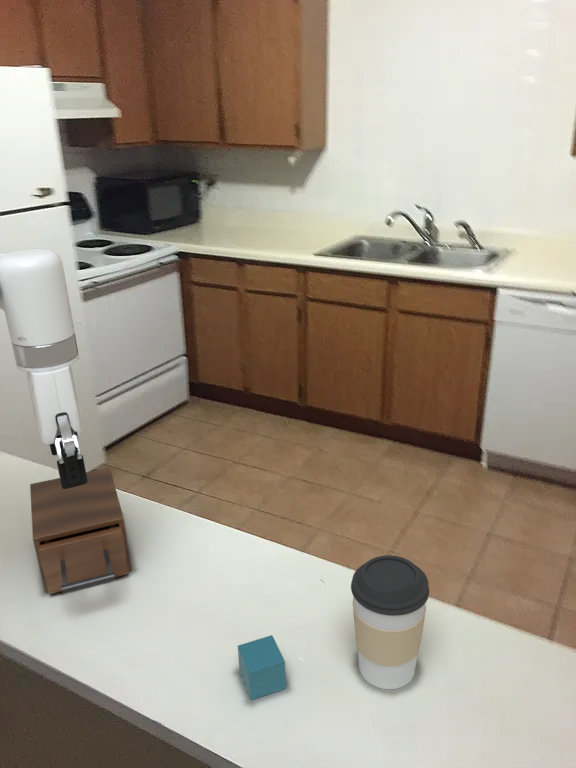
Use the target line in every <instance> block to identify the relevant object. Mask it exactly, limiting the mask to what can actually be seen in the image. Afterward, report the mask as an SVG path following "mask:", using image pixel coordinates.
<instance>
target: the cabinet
mask: <svg viewBox="0 0 576 768" xmlns="http://www.w3.org/2000/svg"><path fill="white" fill-rule="evenodd" d="M86 475H87V483H86V484H84V485H80V486H76V487H72V488H68V489H63V488H62V485H61V481H60V477H58V478H52V479H48V480H43V481H38V482H34V483H30V484H29V488H30V489H29V490H30V491H29V493H30V505H31V506H30V508H31V509H30V513H31V529H32V530H31V531H32V533H31V534H32V543H33V547H34V551H35V556H36V559H37V563H38V569H39V572H40V577H41V582H42V585H43V591H44V593H48V588H47V584H46V579H45V575H44V571H43V566H42V562H41V557H40V553H39V545H43V544H44V541H47V540H51V539H55V538H60V537H64V536H68V535H72V534H77V533H81V532H85V531H89V530H94V529H98V528H102V527H106V526H111V525H115V527H119V526H121V529H122V535H123V541H124V547H125V553H126V559H127V565H128V572H131V571H132V570H133V568H132V562H131V556H130V551H129V543H128V537H127V531H126V525H125V519H124V514H123V511H122V508H121V504H120V499H119V496H118V492H117V489H116V485H115V481H114V478H113V477H114V476H113V473H112V469H111V467H106V468H101V469H96V470H92V471H86Z"/></svg>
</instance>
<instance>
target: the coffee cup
mask: <svg viewBox="0 0 576 768" xmlns="http://www.w3.org/2000/svg"><path fill="white" fill-rule="evenodd" d="M350 590H351V594H352V596H353V597H352V598H353V599H352V614H353V624H354V636H355V645H356V648H357V656H358V657H357V658H358V665H359V666H358V667H359V668H358V669H359V672H360V675H361V677H362V678H363V679H364V681H366V682H367V683H368V684H369V685H371V686H373V687H376V688H378V689H382V690H397V689H401V688H403V687H404V686H407V685H408V684H409V683H411V681H412V680H413V679H414V676H415V673H416V668H417V661H418V654H419V652H420V648H421V641H422V636H423V631H424V624H425V618H426V612H427V605H426V603H427V601H428V600H429V598H430V587H429V580H428V576H427V575H426V573H425V571H424V570H422V569H421V568H420V567H419V566H417V565H416V564H415V563H414V562H413V561H411V560H409V559H407V558H405V557H402V556H398V555H392V554H391V555H390V554H387V555H380V556H375V557H373V558H371V559H369V560H368V561H366V562H365V563H363V564H361V565H360V566H359V567H358V568H356V570H355V572H354V573H353V575H352V578H351V583H350Z"/></svg>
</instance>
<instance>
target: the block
mask: <svg viewBox="0 0 576 768" xmlns="http://www.w3.org/2000/svg"><path fill="white" fill-rule="evenodd" d="M237 657H238V668H239V674H240V677H241V679H242V681H243V684H244V687H245V689H246V692H247V694H248V697H249V700H250V701H254V700H257V699H259V698H263V697H265V696H268V695H271V694H274V693H277V692H279V691H283V690H286V689H287V681H286V680H287V678H286V660H285V658H284V656H283V654H282V652H281V650H280V648H279V646H278V644H277V642H276V640H275V637H274V636H273V635H272V634H271V635H268V636H267V635H266V636H264V637H261V638H257V639H254V640H251V641H248V642H245V643H241V644H239V645H237Z"/></svg>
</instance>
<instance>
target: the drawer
mask: <svg viewBox="0 0 576 768" xmlns="http://www.w3.org/2000/svg"><path fill="white" fill-rule="evenodd" d="M39 553H40V557H41V562H42V566H43V571H44V575H45V579H46V584H47V588H48V592H47V593H48V595H52V594H56V593H59V592H61V594H62V595H66V594H67V595H68V594H70V593H74V592H77V591H81V590H87V589H90V588H93V587H97V586H101V585H104V584H109V583H112V582H115V581H116V577H121V576H124V575H128V574H129V572H130V571H128V565H127V559H126V553H125V547H124V541H123V535H122V529H121V526H119V527H115V525H111V526H106V527H102V528H98V529H94V530H89V531H85V532H81V533H77V534H72V535H68V536H64V537H60V538H55V539H51V540H47V541H44V544H43V545H39Z"/></svg>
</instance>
